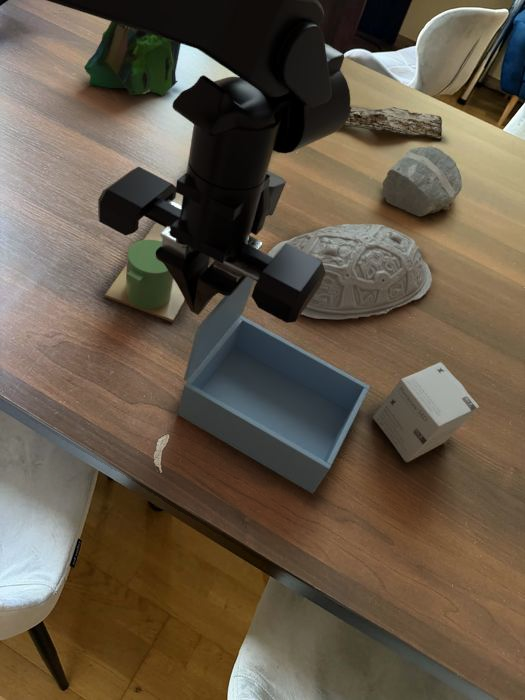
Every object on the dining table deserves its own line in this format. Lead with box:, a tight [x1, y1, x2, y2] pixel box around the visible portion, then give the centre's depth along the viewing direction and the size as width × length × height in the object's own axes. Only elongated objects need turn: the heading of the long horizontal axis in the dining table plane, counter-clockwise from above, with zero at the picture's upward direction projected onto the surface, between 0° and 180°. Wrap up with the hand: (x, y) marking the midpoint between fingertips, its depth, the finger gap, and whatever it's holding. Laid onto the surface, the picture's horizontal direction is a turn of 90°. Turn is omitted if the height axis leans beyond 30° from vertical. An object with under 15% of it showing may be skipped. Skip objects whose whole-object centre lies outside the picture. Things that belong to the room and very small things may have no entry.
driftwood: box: [342, 106, 443, 140], centre depth 103 cm, size 25×10×5 cm
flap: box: [183, 277, 255, 382], centre depth 53 cm, size 7×11×1 cm
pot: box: [125, 239, 174, 309], centre depth 63 cm, size 7×5×6 cm
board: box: [104, 192, 186, 323], centre depth 76 cm, size 40×8×1 cm, turn 164°
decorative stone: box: [382, 145, 463, 218], centre depth 89 cm, size 13×10×6 cm
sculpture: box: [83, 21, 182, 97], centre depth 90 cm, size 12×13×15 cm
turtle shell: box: [267, 223, 433, 320], centre depth 74 cm, size 16×25×7 cm, turn 115°
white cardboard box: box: [372, 361, 480, 463], centre depth 59 cm, size 6×6×7 cm
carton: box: [177, 315, 371, 494], centre depth 57 cm, size 15×11×5 cm
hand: (197, 310), depth 54 cm, fingers closed
